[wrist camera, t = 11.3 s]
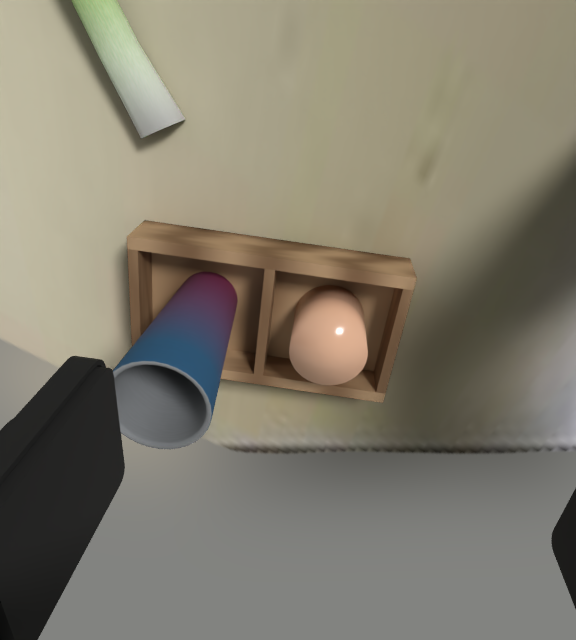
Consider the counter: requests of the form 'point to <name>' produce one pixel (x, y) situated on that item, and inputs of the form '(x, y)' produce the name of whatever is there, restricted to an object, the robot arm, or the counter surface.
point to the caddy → (272, 298)
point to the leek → (128, 66)
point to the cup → (177, 365)
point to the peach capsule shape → (328, 336)
